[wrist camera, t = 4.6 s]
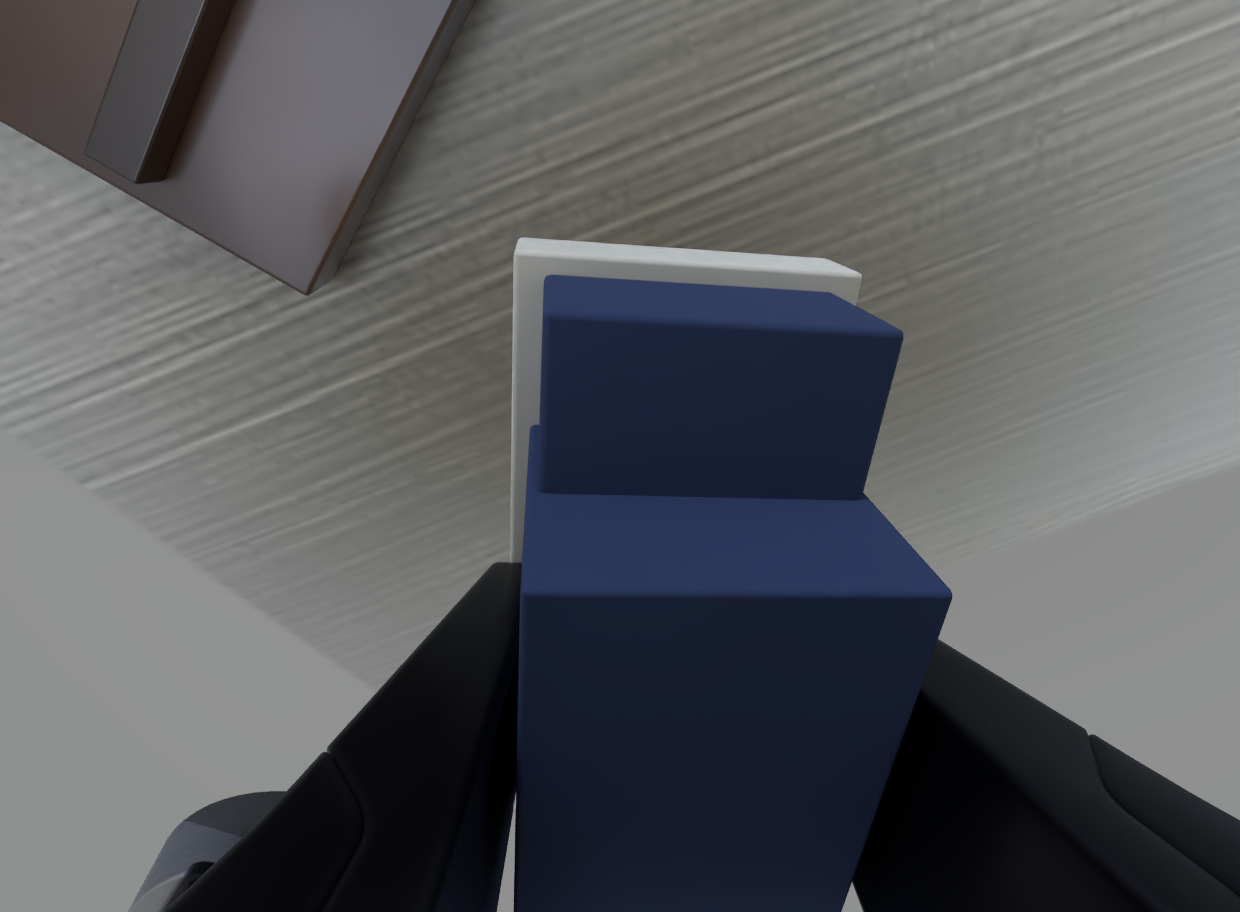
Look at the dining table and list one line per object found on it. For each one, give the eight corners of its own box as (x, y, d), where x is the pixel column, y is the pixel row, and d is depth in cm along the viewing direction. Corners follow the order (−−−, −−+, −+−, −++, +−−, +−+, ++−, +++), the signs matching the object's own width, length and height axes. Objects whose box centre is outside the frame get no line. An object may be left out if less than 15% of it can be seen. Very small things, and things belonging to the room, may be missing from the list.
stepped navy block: (727, 750, 11) (814, 1041, 8) (510, 755, 11) (492, 1066, 7) (828, 258, 8) (1070, 358, 4) (517, 236, 7) (490, 328, 4)
